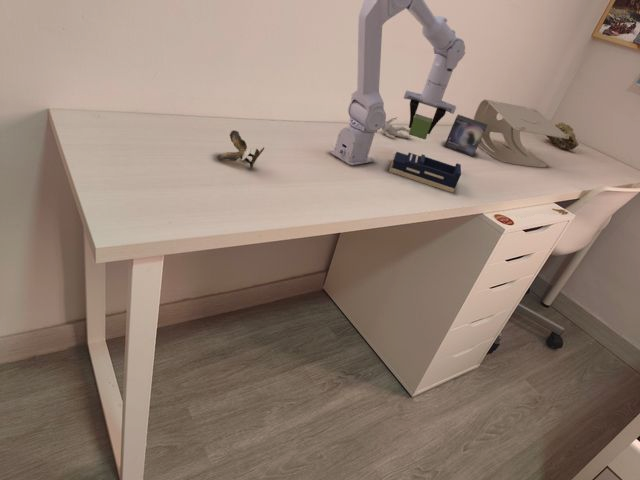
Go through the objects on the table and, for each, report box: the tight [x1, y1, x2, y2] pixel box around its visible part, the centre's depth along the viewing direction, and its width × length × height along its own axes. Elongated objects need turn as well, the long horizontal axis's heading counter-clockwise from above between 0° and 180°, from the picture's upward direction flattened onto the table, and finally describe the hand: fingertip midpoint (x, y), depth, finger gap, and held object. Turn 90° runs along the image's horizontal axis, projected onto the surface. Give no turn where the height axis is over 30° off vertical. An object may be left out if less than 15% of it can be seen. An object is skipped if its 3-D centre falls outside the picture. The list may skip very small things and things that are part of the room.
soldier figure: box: [381, 116, 412, 139], centre depth 150 cm, size 8×5×12 cm
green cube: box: [408, 113, 433, 140], centre depth 129 cm, size 5×5×5 cm
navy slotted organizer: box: [388, 151, 462, 194], centre depth 123 cm, size 18×8×6 cm, turn 75°
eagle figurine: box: [216, 129, 265, 170], centre depth 101 cm, size 8×7×9 cm
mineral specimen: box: [545, 121, 580, 150], centre depth 197 cm, size 14×13×10 cm
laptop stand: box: [472, 99, 570, 168], centre depth 164 cm, size 26×24×16 cm
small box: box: [443, 114, 487, 158], centre depth 153 cm, size 11×6×10 cm, turn 68°
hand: (419, 130), depth 129 cm, fingers closed on green cube, 5 cm apart
